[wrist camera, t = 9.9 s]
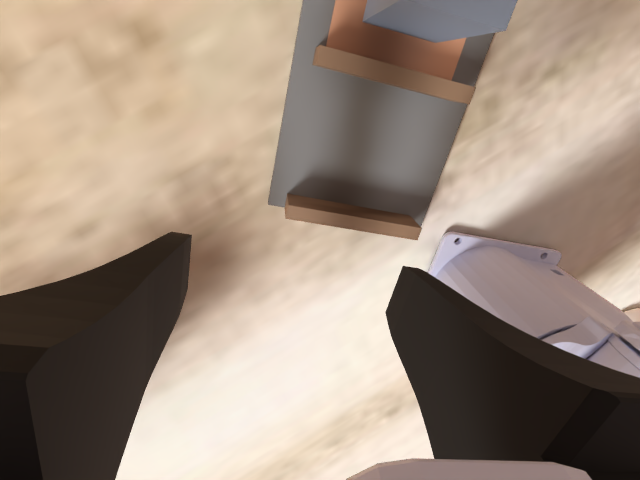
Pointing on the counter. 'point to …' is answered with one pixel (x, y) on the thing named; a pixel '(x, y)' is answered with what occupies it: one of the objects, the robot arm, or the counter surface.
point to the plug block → (440, 17)
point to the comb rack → (368, 120)
